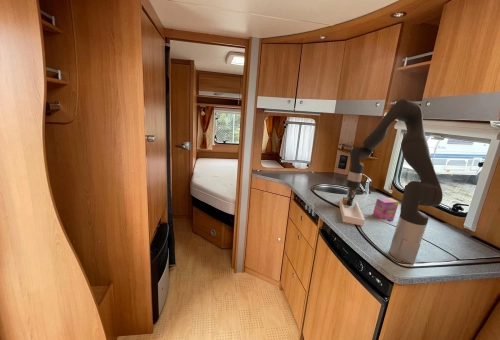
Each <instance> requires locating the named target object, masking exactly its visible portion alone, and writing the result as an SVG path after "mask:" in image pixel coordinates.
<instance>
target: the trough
mask: <svg viewBox="0 0 500 340" xmlns="http://www.w3.org/2000/svg"><path fill="white" fill-rule="evenodd" d="M342 201H343V198H340V199H339V203H338V204H339V209H340V210H339V211H340V215H341V218H342V219H341V220H342V222H343V223H348V224H351V225H352V224H353V225H358V226H361V227H363V226H364V224H365V222H366V219H365V216H364V214H363V212H362V210H361V208H360V205H359V203H358V202H357V201H355V203H354V206H347V205H344V204H343V202H342Z"/></svg>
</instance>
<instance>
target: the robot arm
mask: <svg viewBox="0 0 500 340" xmlns="http://www.w3.org/2000/svg"><path fill="white" fill-rule="evenodd" d="M396 120H399V121H401V122H403V123H404V124H405V127H406V134H404V137H403V138H402V141H401V143H400V146H401V147H400V148H401V152H402V157H403V159H404V161H405V162H406V163H407V164H408V165H409V166H410V168H411V169H412V170H413V171H414V172H415V173H416V174H417V175H418V177H419V180H420V181H417V180H411V181H409V182H407V184H406V186H405V188H404V191H403V196H402V200H401V204H400V213H399V217H398V220H397V224H396V227H395V230H394V234H393V237H392V241H391V243H390V247H389V250H388V251H389V252H388V253H389V254H390V256H392V257H393V258H395V260H396V259H397V260H396V261H398V262H402V261H403V263H406V264H407V263H408V264H411V265H415V262H416V260H417V256H418V252H419V250H420V248H421V242H422V241H423V240H422V239H423V236H424V235H425V231H426V228H427V225H428V222H429V217H428V216H427V215H426V213H424V212H421V211H419V210H418V209H419V206H422V207H423V206H425V207H438V206H439V205H440V204H441V203H442V202H443V189H442V185H441V184H440V181H439V179H438V175H437V173H436V171H435V169H434V168H435V167H434V165H433V162H432V157H431V154H430V147H429V144H428V139H427V137H426V132H425V128H424V123H423V122H424V121H423V120H424V119H423V110H422V107H421V105H420V104H418V103H416V102H414V101H411V100H408V99H406V98H402V99H399V100H398V101H396V102H395V103H394V104H393V105H392V106H391V107H390V108H389V110H387V113H386V114H385V115H384V116H383V118H382V119H381V121H380V122H379V123H378V124H377V125H376V127H375V129H374V130H373V131H372V132H371V133H370V134H369V135H368V136H366V137H365V139H363V142H362V143H363V145H362V146H357V145H356V146H353V147H352V149H351V150H350V152H349V157H350V158H349V159H350V160H349V161H350V167H349V171H348V174H347V179H346V183H345V186H347V187H348V188H347V194H346V197H347V199H348V200H347V204H346V206H351V202H352V201H354V199H355V197H356V189H359V188H361V186H360V185H361V182H362V178H363V172H364V166H365V165H364V163H362V162H361V161H360V159H361V160H362V159H367V158H369V157H370V156H371V155H372V153H373V152H374V150H375V148H376V147H378V145H380V144H381V143H382V142H383V141H384V140H385V138H386V136H387V132H388V129H389V127H390V126H391V124H392V123H393V122H394V121H396ZM352 203H353V202H352ZM351 207H352V206H351Z"/></svg>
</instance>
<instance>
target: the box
mask: <svg viewBox="0 0 500 340" xmlns="http://www.w3.org/2000/svg"><path fill="white" fill-rule="evenodd" d="M399 204H400V202H399V200H396V199H394V198H392V197H385V198H383V197H382V198H376V201H375V204H374V205H375V206H374V209H373V213H372V215H373V216H374V217H376V218H377V219H380V220H385V219H386V220H387V221H395V216H396V214H397V213H396V212H397V209H398V206H399Z"/></svg>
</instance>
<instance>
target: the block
mask: <svg viewBox="0 0 500 340" xmlns="http://www.w3.org/2000/svg"><path fill="white" fill-rule="evenodd" d="M347 200H348V199H347V196H343V197H342V202H343V205H346V204H347ZM353 201H354V200H353ZM353 201H352V202H351V207H353ZM346 206H347V205H346Z"/></svg>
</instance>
